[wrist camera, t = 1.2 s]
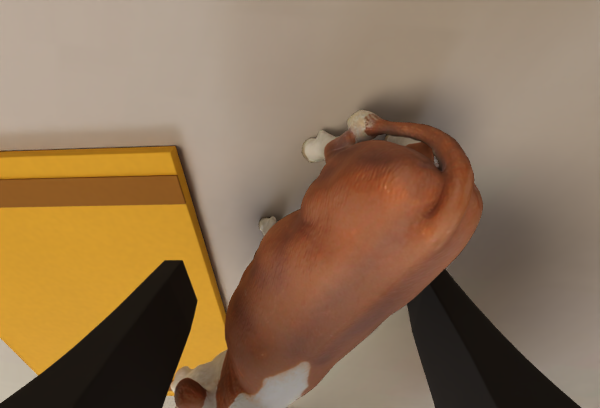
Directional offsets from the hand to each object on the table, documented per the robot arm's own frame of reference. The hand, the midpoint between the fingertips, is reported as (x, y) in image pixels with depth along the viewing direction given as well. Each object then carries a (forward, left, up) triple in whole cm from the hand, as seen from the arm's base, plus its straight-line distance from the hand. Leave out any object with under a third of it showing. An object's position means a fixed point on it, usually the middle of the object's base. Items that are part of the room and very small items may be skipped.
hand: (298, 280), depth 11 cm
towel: (-7, +12, -5) cm, 15 cm away
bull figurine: (-1, 0, -5) cm, 5 cm away
